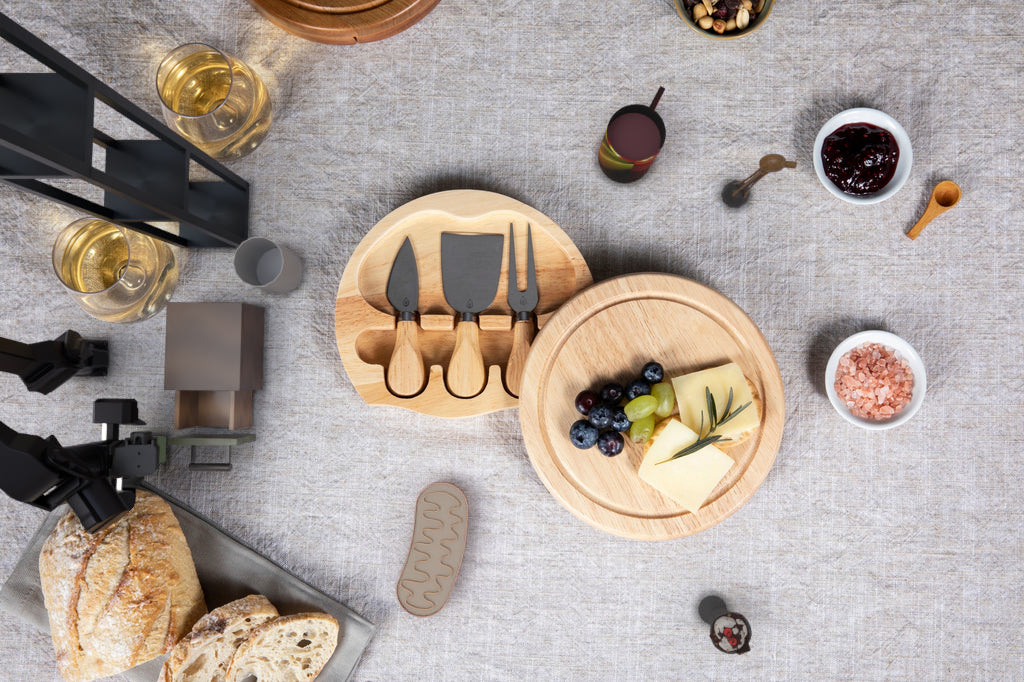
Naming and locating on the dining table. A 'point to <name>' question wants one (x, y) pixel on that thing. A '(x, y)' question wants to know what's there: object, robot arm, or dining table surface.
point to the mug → (632, 141)
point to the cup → (267, 265)
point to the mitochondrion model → (434, 550)
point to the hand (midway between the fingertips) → (143, 450)
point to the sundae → (725, 626)
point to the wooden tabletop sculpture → (753, 180)
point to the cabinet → (213, 346)
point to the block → (162, 447)
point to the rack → (110, 155)
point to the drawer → (212, 422)
